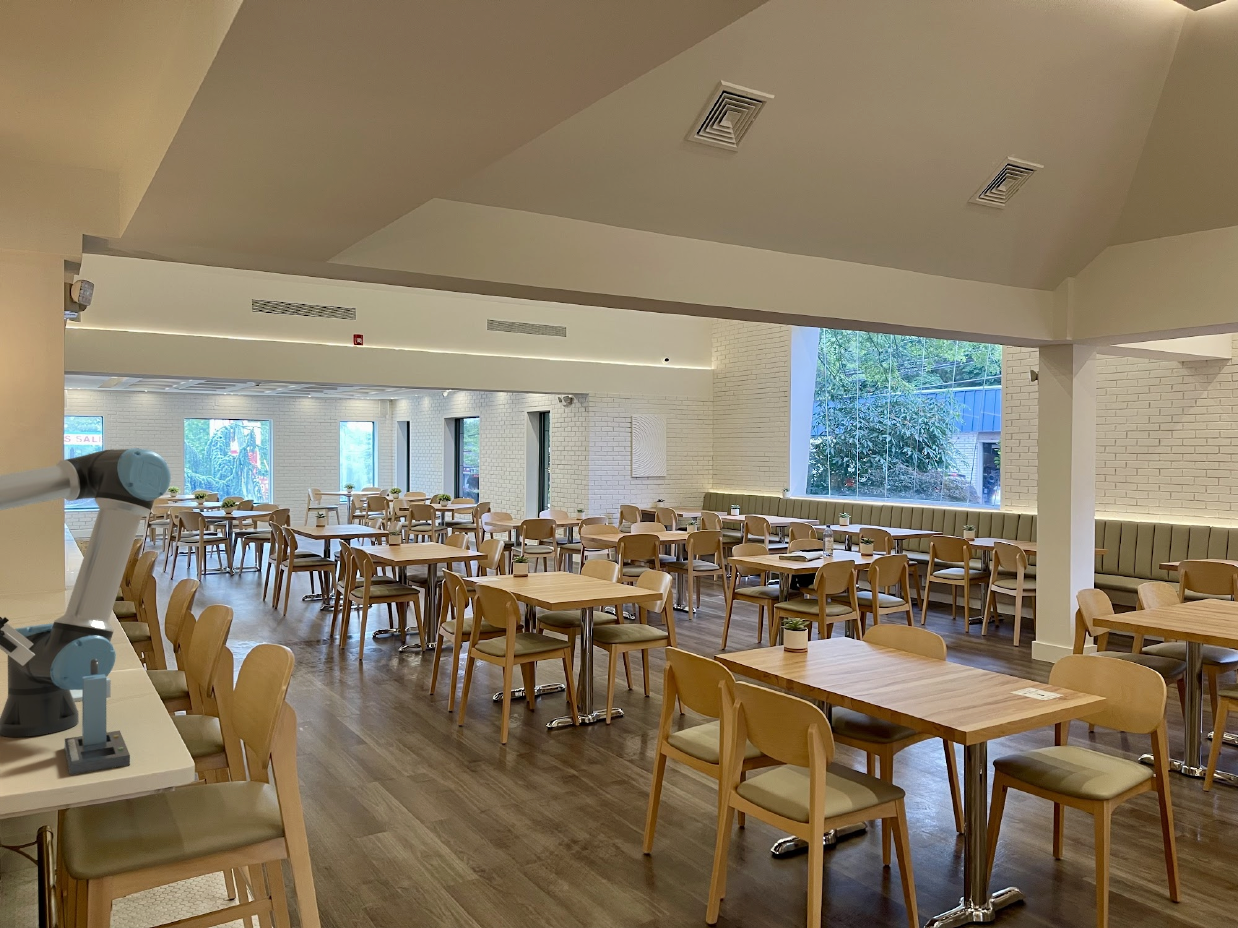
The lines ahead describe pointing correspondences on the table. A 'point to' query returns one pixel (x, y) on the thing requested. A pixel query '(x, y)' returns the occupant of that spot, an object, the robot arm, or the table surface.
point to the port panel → (96, 754)
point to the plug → (94, 705)
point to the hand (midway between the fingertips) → (28, 654)
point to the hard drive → (76, 695)
